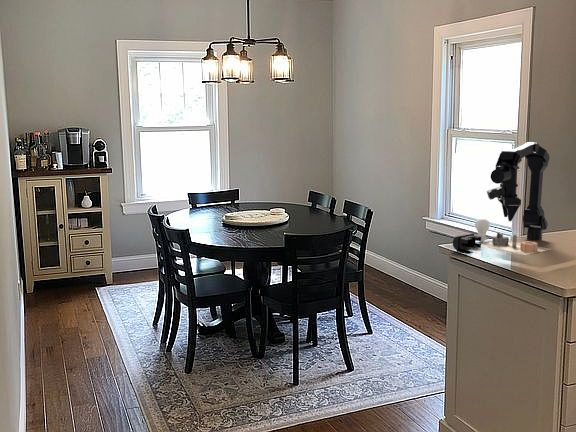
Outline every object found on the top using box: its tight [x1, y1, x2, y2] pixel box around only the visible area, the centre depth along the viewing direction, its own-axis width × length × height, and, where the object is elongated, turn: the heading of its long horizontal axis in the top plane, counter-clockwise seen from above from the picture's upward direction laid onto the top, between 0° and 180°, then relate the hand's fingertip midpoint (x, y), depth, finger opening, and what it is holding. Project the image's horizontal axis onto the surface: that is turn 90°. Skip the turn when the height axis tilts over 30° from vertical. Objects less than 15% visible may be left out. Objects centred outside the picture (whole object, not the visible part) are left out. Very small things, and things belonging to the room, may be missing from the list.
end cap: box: [452, 232, 482, 255], centre depth 265 cm, size 10×7×7 cm
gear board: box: [480, 232, 552, 256], centre depth 265 cm, size 17×24×7 cm
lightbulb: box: [474, 217, 491, 243], centre depth 281 cm, size 6×6×11 cm
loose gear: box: [519, 240, 539, 252], centre depth 259 cm, size 6×6×3 cm
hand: (507, 219), depth 261 cm, fingers open, 9 cm apart
